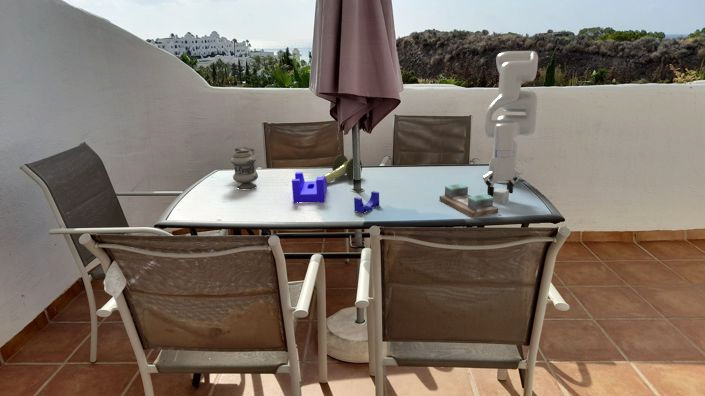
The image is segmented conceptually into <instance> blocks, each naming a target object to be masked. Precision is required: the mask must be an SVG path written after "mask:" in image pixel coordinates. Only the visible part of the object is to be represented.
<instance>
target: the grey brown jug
mask: <svg viewBox="0 0 705 396" xmlns="http://www.w3.org/2000/svg"><path fill="white" fill-rule="evenodd" d="M234 150H235V151H234V152H236V151H241V150H250V151H251V152H252V155H254V156H255V155H256V154H255V149H254V148H251V147H247V146H244V147H243V146H242V147H237V148H235V149H234ZM255 157H256V156H255ZM254 169H255V171H256V172H257V168H256V161H255V162H254Z"/></svg>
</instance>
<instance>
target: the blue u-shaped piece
mask: <svg viewBox="0 0 705 396" xmlns="http://www.w3.org/2000/svg"><path fill="white" fill-rule="evenodd" d="M370 194H371V195H370V198H369V200H368V201H367V202H366V203H363V198H362V197H358V196H355V197H353V202H354V203H353V207H354V212H355V211H357V212H356V213H358V212H361V213H360V214H362V213H363V214H365V213H364V212H366V211H368V212H370V211H369V210H371V211H373V210H372V209H374V208H377V207H379V206H380V192H379V191H375V190H373V191H371V192H370ZM376 206H377V207H376ZM373 207H374V208H373ZM366 213H367V212H366Z"/></svg>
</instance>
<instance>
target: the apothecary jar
mask: <svg viewBox="0 0 705 396" xmlns="http://www.w3.org/2000/svg"><path fill="white" fill-rule="evenodd" d="M254 155H255V154H254ZM254 155H252V152H251V151H250V150H241V151H236V152H235V151H234V152H233V156H232V158H231V159H230V162H231V164H232V165H233V166H234V174H233V175H232V178H233V180H234V181H235V182H236V183H239V185H237V186H236V189H237V188H239V189H250V190H253V189H252V188H254V189H256V188H257V184H256V183H252V182H254V181H256V180H257V179H258V177H259V173H258V172H257V170H256V171H255V169H254V162H255V163H256V161H257V159H256V156H254ZM255 187H256V188H255Z"/></svg>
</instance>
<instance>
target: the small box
mask: <svg viewBox="0 0 705 396" xmlns="http://www.w3.org/2000/svg"><path fill="white" fill-rule="evenodd" d="M491 197H493V203H496V204H501V205H502V204H503V205H504V204H505V203H507V202H508V201H509V199H510V193H509V190H507V188H498V187H496V188H494V195H493V196H491Z"/></svg>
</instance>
